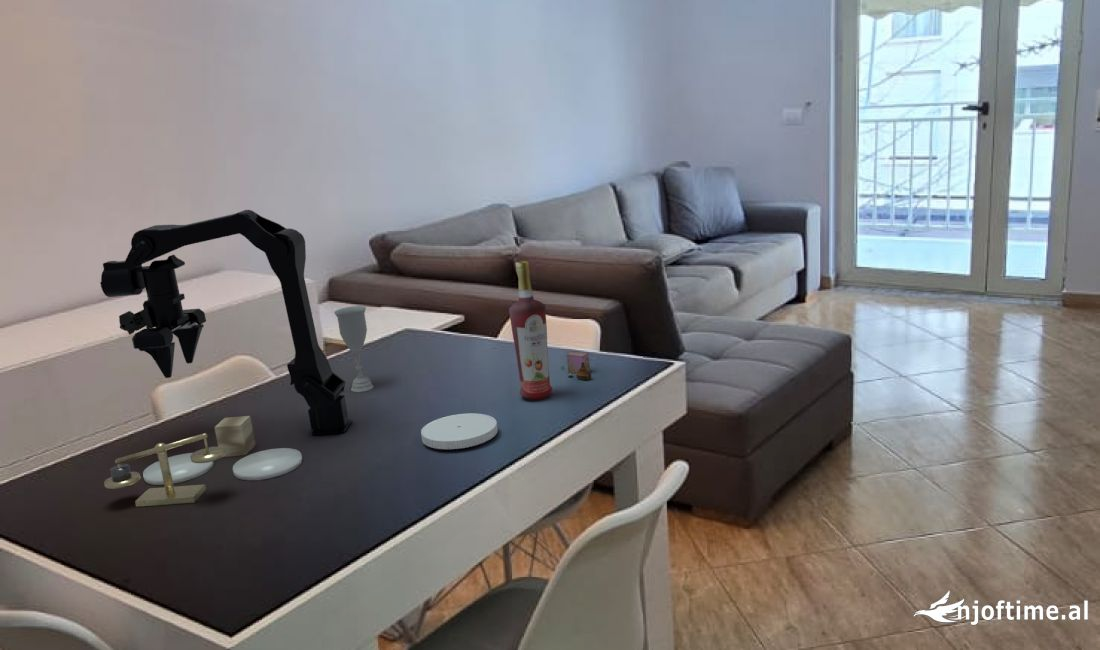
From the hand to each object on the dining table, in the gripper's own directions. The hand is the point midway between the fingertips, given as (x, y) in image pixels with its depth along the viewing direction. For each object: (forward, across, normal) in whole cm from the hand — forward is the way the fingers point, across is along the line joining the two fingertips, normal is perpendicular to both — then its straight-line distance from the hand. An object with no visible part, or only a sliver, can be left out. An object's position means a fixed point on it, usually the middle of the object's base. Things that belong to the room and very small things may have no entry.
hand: (179, 370), depth 181 cm
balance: (+15, +28, +9) cm, 32 cm away
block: (+15, +8, +12) cm, 21 cm away
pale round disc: (+15, +16, +4) cm, 22 cm away
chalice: (+15, -26, +28) cm, 40 cm away
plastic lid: (+15, +9, +55) cm, 58 cm away
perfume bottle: (+15, -25, +79) cm, 84 cm away
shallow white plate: (+15, +16, +21) cm, 31 cm away
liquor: (+15, -12, +68) cm, 70 cm away
